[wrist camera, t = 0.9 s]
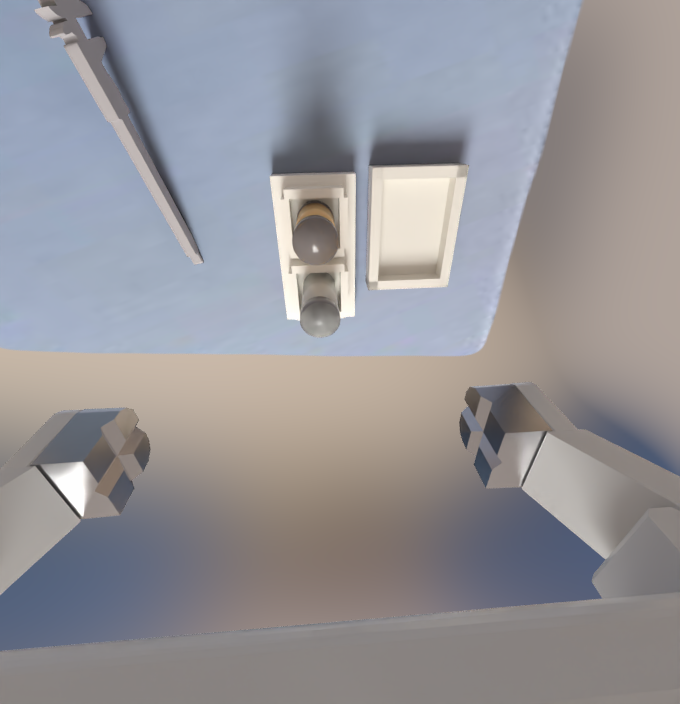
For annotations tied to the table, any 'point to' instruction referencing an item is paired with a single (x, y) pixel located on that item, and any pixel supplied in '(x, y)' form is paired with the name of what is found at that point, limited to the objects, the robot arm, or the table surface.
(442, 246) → the parts tray
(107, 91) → the caliper
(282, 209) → the block
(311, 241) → the fuse
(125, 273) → the table surface
